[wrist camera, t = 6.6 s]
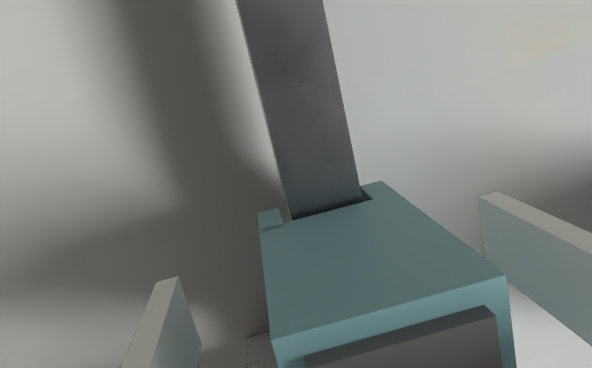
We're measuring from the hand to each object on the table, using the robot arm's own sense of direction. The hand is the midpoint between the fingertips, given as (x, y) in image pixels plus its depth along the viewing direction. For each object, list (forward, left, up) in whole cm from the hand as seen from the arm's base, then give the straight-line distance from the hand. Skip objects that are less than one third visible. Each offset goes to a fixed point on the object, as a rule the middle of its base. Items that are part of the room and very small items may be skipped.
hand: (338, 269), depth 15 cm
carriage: (0, 0, -1) cm, 1 cm away
